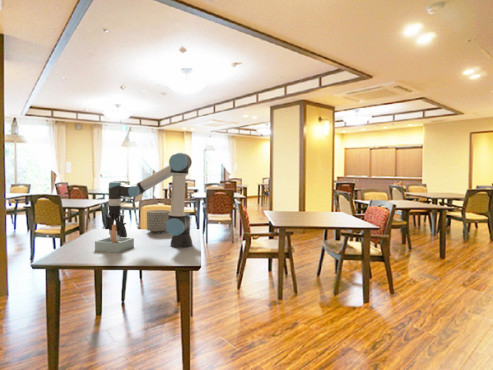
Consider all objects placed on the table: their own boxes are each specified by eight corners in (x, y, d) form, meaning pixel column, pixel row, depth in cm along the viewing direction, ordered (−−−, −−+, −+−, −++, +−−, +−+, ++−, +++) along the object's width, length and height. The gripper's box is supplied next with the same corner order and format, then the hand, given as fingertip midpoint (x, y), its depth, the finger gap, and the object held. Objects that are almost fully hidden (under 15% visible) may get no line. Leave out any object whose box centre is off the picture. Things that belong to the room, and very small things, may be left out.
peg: (115, 246, 202) (115, 225, 202) (110, 245, 203) (110, 224, 202) (118, 244, 206) (118, 224, 205) (114, 244, 207) (114, 224, 206)
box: (133, 246, 210) (133, 238, 210) (118, 252, 195) (118, 243, 194) (111, 244, 214) (111, 236, 214) (94, 250, 199) (94, 241, 199)
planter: (164, 229, 272) (164, 209, 271) (173, 233, 257) (173, 211, 257) (143, 231, 260) (143, 210, 259) (152, 235, 245) (152, 213, 245)
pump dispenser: (121, 244, 217) (121, 222, 216) (108, 243, 219) (108, 222, 218) (130, 240, 227) (129, 220, 226) (117, 240, 229) (117, 219, 228)
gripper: (129, 205, 205) (129, 239, 206) (107, 203, 209) (107, 237, 210) (122, 206, 197) (121, 241, 199) (100, 205, 201) (100, 240, 203)
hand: (114, 239), depth 204 cm, fingers closed on peg, 3 cm apart
